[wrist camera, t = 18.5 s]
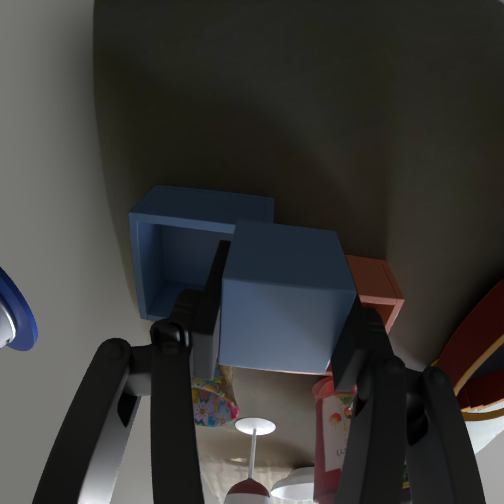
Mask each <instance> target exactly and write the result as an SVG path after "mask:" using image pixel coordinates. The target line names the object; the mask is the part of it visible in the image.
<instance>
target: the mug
mask: <svg viewBox="0 0 504 504" xmlns="http://www.w3.org/2000/svg"><path fill="white" fill-rule="evenodd" d="M218 357H219V350H218V355H217V360H216V365H215V370H214V375H213V381H209V380H202V379H196V378H194V374H193V376H192V380H191V385H192V397H193V408H194V419H195V425H198V426H206V427H216V426H223V425H227V424H229V423H231V422H233V421H234V420H235V419H236V418H237V417H238V414H239V408H238V405H237V403H236V400H235V397H234V393H233V387H232V376H233V371H234V367H235V366H228V365H221V364H219V363H218Z"/></svg>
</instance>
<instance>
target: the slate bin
mask: <svg viewBox="0 0 504 504" xmlns="http://www.w3.org/2000/svg"><path fill="white" fill-rule="evenodd" d="M128 217H129V229H130V240H131V250H132V259H133V268H134V276H135V283H136V291H137V298H138V304H139V311H140V317H141V319H146V320H151V321H159V320H161V319H165V318H169V316H170V314H171V311H172V309H173V306H174V304H175V301H176V299H177V296H178V294H180V293H181V292H182V291H183V290H184V289H185V288H187V289H194V290H202V291H204V288H205V285H206V282H207V279H208V275H209V272H210V269H211V266H212V263H213V260H214V257H215V254H216V251H217V248H218V244H219V241H220V240H227V241H232V237H233V233H234V229H235V225H236V222H237V220H238V219H240V220H248V221H257V222H265V223H273V221H274V198H272V197H265V196H257V195H249V194H241V193H233V192H224V191H216V190H207V189H197V188H187V187H177V186H166V185H156V186H155V187H154V188H153V189H152V190H151V191H150V192H149V193H147V194H146V195H145V196H144V197H143V198H142V199H141V200H140V201H139V202H138V203H137V204H136V205H135V206H134V207H133V208H132V209H131V210H130V211H129V212H128Z"/></svg>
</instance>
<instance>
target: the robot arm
mask: <svg viewBox="0 0 504 504" xmlns="http://www.w3.org/2000/svg"><path fill="white" fill-rule="evenodd" d="M230 245H231V241H227V240H220V241H219V244H218V248H217V251H216V254H215V257H214V260H213V263H212V266H211V269H210V272H209V275H208V279H207V282H206V285H205V288H204V291H202V290H194V289H187V288H185V289H184V290H183V291H182V292H181V293H180V294H178V296H177V299H176V301H175V304H174V306H173V309H172V311H171V314H170V316H169V318H165V319H161V320H159V321H156V322H155V323H154V324H153V325H152V326H151V329H150V336H151V342H152V344H150V345H146V346H134V347H131V346H130V344H129V343H128V342H127V341H126V340H123V339H121V338H111V339H108V340H106V341H104V342H103V343H102V344H101V345H100V346H99V348H98V350H97V351H96V353H95V355H94V357H93V360H92V361H91V363H90V366H89V367H88V369H87V371H86V373H85V375H84V377H83V380H82V382H81V384H80V386H79V388H78V390H77V392H76V394H75V396H74V399H73V401H72V403H71V405H70V407H69V410H68V412H67V414H66V417H65V419H64V421H63V423H62V426H61V428H60V430H59V433H58V435H57V437H56V440H55V442H54V445H53V447H52V450H51V452H50V455H49V457H48V460H47V462H46V465H45V468H44V470H43V473H42V476H41V479H40V482H39V484H38V487H37V490H36V493H35V496H34V499H33V502H32V504H110V500H111V496H112V493H113V489H114V485H115V482H116V478H117V475H118V471H119V468H120V464H121V461H122V457H123V454H124V451H125V447H126V444H127V440H128V437H129V434H130V431H131V428H132V425H133V421H134V418H135V415H136V412H137V409H138V406H139V403H140V400H141V397H142V396H146V395H151V411H150V412H151V413H150V414H151V415H150V416H151V418H150V419H151V421H150V424H151V467H152V486H153V501H154V504H205V500H204V493H203V487H202V479H201V472H200V464H199V456H198V447H197V438H196V429H195V419H194V408H193V397H192V385H191V380H192V376H193V374H194V378H196V379H202V380H209V381H213V375H214V370H215V365H216V360H217V355H218V350H219V333H220V310H221V288H222V276H223V272H224V268H225V264H226V260H227V256H228V252H229V249H230ZM345 258H346V256H345ZM346 261H347V259H346ZM347 264H348V261H347ZM348 267H349V264H348ZM349 270H350V267H349ZM350 273H351V270H350ZM351 276H352V273H351ZM352 279H353V276H352ZM353 282H354V279H353ZM354 285H355V282H354ZM355 288H356V285H355ZM356 291H357V288H356ZM17 333H18V324H17V321H16V318H15V316H14V313H13V311H12V309H11V308H10V306H9V304H8V303H7V301H6V300H5V298H4V297H3V295H2V294H1V293H0V348H2V347H3V346H4V345H6V344H8V343H10V342H11V341H12V340H13V339H14V337H15V336H16V335H17ZM330 360H331V368H332V375H333V383H334V391H341V392H352V390H353V388H354V387H355V385H357V391H358V392H357V394H356V395H355V397H354V399H353V400H352V402H351V403H350V405H349V407H348V409H351V408H352V406H353V409H352V416H351V422H350V429H349V435H348V440H347V446H346V451H345V457H344V462H343V467H342V471H341V476H340V481H339V485H338V490H337V494H336V498H335V502H334V504H401V496H402V488H403V478H404V466H405V462H406V468H407V474H408V480H409V487H410V494H411V502H412V504H486V502H485V497H484V492H483V487H482V483H481V479H480V474H479V470H478V466H477V462H476V459H475V455H474V451H473V448H472V444H471V441H470V437H469V434H468V431H467V428H466V424H465V421H464V418H463V415H462V412H461V409H460V406H459V403H458V401H457V398H456V395H455V392H454V390H453V387H452V384H451V382H450V379H449V377H448V375H447V373H446V372H445V371H444V370H443V369H441V368H439V367H437V366H429V367H427V368H426V369H425V370H424V371H423V372H419V371H415V370H411V369H408V368H406V367H405V364H404V362H403V361H402V360H401V359H400V358H399V357H397V356H395V355H394V353H393V350H392V347H391V344H390V341H389V338H388V335H387V332H386V329H385V326H384V323H383V320H382V318H381V315H380V314H379V313H378V312H377V311H376V310H375V308H368V307H362V303H361V300H360V297H359V294H358V291H357V294H356V296H355V299H354V302H353V305H352V307H351V310H350V313H349V315H348V316H347V319H346V322H345V324H344V327H343V329H342V332H341V334H340V337H339V339H338V342H337V344H336V347H335V349H334V352H333V354H332V356H331V359H330Z"/></svg>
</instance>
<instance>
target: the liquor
mask: <svg viewBox="0 0 504 504" xmlns="http://www.w3.org/2000/svg"><path fill="white" fill-rule="evenodd" d="M356 389H357V385H355V387H354V388H353V390H352V392H341V391H334V383H333V376H325V377H324V378H323V379H321V380H320V381H318V382H317V383H316V384H315V385H314V386H313V388H312V393H313V395H314V396H315V398H316V447H315V465H314V493H313V502H315V503H316V504H334V502H335V498H336V494H337V490H338V485H339V481H340V476H341V471H342V467H343V462H344V457H345V451H346V446H347V440H348V435H349V429H350V422H351V416H352V409H353V406H352V408H351V409H348V407H349V405H350V403H351V402H352V400H353V399H354V397H355V395H356Z"/></svg>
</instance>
